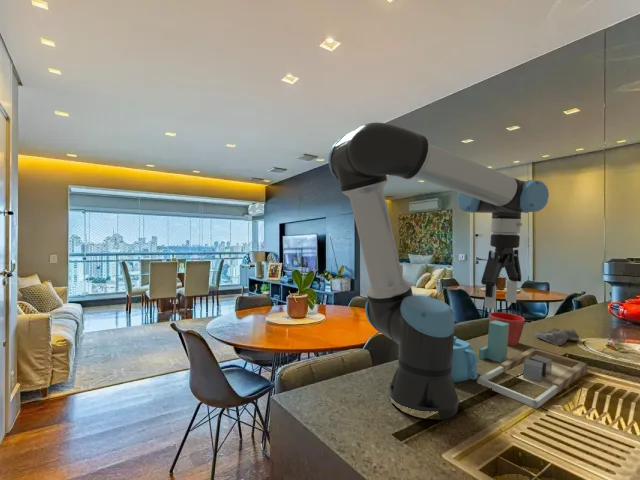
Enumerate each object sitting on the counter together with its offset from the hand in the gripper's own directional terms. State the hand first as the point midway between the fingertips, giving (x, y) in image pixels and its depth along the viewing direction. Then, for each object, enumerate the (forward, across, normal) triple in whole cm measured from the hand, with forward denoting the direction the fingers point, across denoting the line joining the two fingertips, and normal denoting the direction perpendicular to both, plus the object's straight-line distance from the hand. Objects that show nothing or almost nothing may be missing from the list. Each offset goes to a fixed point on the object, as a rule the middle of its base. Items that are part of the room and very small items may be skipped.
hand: (500, 304), depth 101 cm
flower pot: (+18, +19, +6) cm, 27 cm away
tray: (+17, -14, -11) cm, 25 cm away
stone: (+18, +40, -3) cm, 44 cm away
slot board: (+18, +3, -11) cm, 21 cm away
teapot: (+18, -20, +4) cm, 27 cm away
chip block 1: (+16, -5, -11) cm, 21 cm away
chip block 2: (+16, 0, -11) cm, 20 cm away
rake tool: (+18, 0, 0) cm, 18 cm away
